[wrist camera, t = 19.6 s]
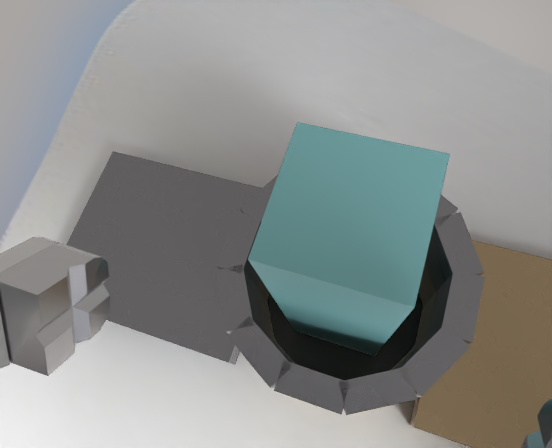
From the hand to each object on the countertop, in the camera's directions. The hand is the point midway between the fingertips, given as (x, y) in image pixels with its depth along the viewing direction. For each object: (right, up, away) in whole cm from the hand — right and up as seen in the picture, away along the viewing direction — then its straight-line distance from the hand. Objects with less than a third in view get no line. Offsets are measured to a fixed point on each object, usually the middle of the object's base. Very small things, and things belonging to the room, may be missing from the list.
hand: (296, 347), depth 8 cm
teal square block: (+4, -2, +17) cm, 18 cm away
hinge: (+3, -2, +17) cm, 18 cm away
